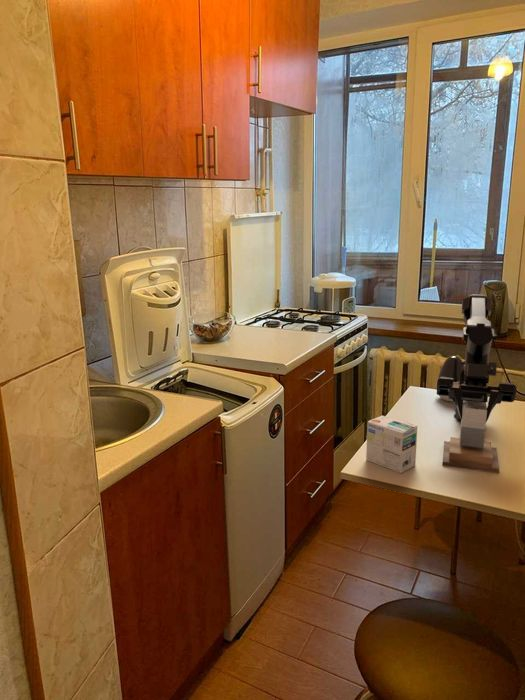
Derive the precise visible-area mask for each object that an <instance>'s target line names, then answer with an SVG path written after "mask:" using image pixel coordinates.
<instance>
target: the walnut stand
mask: <svg viewBox="0 0 525 700" xmlns="http://www.w3.org/2000/svg"><path fill="white" fill-rule="evenodd" d="M442 452H443V453H442V463H441V464H442V466H444V467H445V466H446V467H453V468H458V469H459V468H460V469H467V470H476V471H480V472H489V473H496V474H499V473H500V464H499V456H498V449H497V447H495V446H492V441H487V440H484V447H483V448H479V447H471V446H463V445H460V437H450V441H445V440H444V441H443V451H442Z"/></svg>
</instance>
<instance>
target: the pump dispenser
mask: <svg viewBox="0 0 525 700" xmlns="http://www.w3.org/2000/svg"><path fill="white" fill-rule="evenodd" d="M464 369H465V360H462V358H461V357H459V356H458V355H449V356H448V357H447V358H446V359H445V361H443V364H442V365H441V368H440V369H439V372H438V375H437V379H438V378H439V377H447V378H453V382H457V381H458V382H459V379H460V374H461V372H462V371H463V370H464ZM437 379H436V380H437ZM435 389H436V390H437V382H436V384H435ZM438 396H439V398H441V400H444V401H445V402H448V401H449V403H454V402H453V400H452V399H449V398H448V397H449V396H441V395H438Z"/></svg>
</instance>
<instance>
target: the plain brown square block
mask: <svg viewBox="0 0 525 700" xmlns="http://www.w3.org/2000/svg"><path fill="white" fill-rule="evenodd" d="M487 406H488V404H487V402H486V403H484V402H474V401H463V407H462V409H463V411H462V419H461V422H460V432H459V433H460V434H459V438H460V445H463V446H471V447H479V448H483V447H484V441H485V436H486V434H485V433H486V425H487V422H486V416H487Z"/></svg>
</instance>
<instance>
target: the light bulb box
mask: <svg viewBox="0 0 525 700" xmlns="http://www.w3.org/2000/svg"><path fill="white" fill-rule="evenodd" d="M366 426H367V427H366V428H367V431H366V453H365V455H366V456H365V460H366V461H367V462H370V463H373V464H376V465H379V466H381V467H383V468H386V469H388V470H391V471H393V472H396V473H399V474H403V473H404V472H406V471H408V470H410V469H411V468H412V467H414V466H416V461H417V460H416V459H417V441H418V425H416V424H412V423H409V422H405V421H402V420H398V419H394V418H391V417H388V416H385V415H380V416H378V417H375V418H373V419H370V420H368V421H367V424H366Z"/></svg>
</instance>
